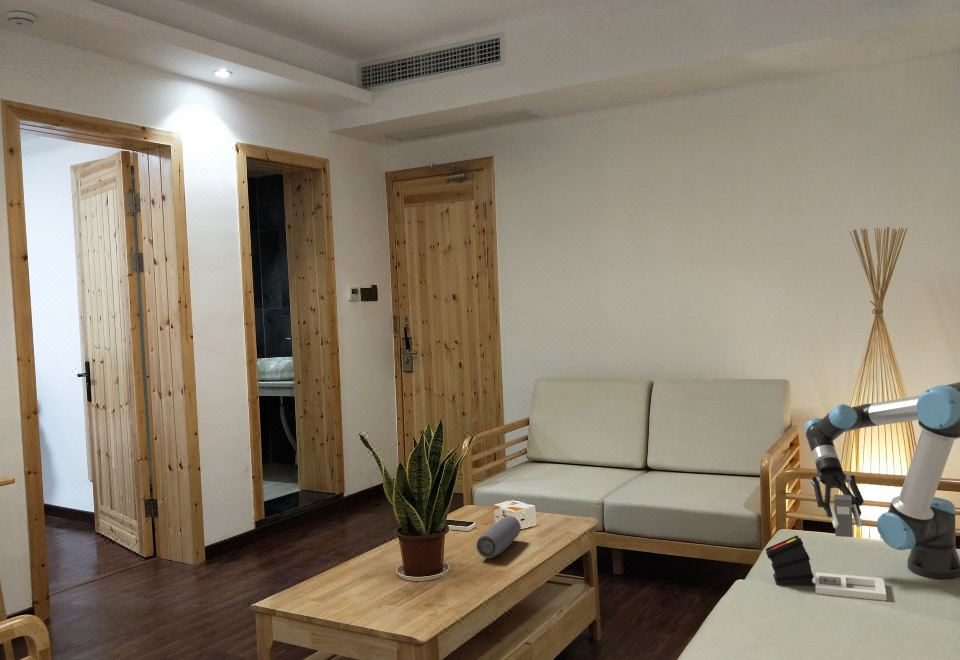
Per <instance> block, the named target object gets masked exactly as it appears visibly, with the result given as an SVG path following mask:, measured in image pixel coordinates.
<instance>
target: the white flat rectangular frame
mask: <svg viewBox="0 0 960 660" xmlns="http://www.w3.org/2000/svg"><path fill="white" fill-rule="evenodd" d="M847 585H854V586H855V585H856V586H867V587H868V586H869V587H874V589H865V588H864V589H863V588H855V587H854V588H852V587H847ZM816 593H819V594H818V595H823V594H824V595H826V596H834V597H843V598H844V597H846V598H856V599H865V600H873V601H887V590H886V585H885V581H884V578H882V577H872V576H871V577H870V576H864V575H863V576H862V575H861V576H860V575H852V574H851V575H850V574H837V573H827V572H826V573H825V572H818V571H816V572H815V594H816Z"/></svg>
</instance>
